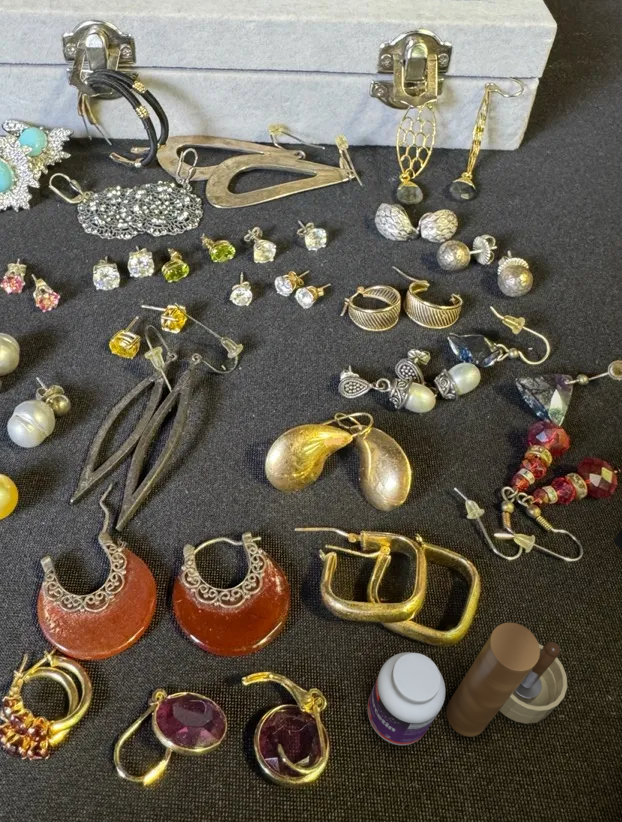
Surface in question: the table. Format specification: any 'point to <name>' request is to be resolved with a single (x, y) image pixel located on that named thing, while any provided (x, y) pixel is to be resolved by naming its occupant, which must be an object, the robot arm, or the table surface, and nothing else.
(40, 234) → the table surface
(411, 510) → the table surface
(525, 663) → the wooden dowel cylinder
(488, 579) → the table surface
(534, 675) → the wooden handled stamp
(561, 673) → the bowl
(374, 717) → the pill bottle
